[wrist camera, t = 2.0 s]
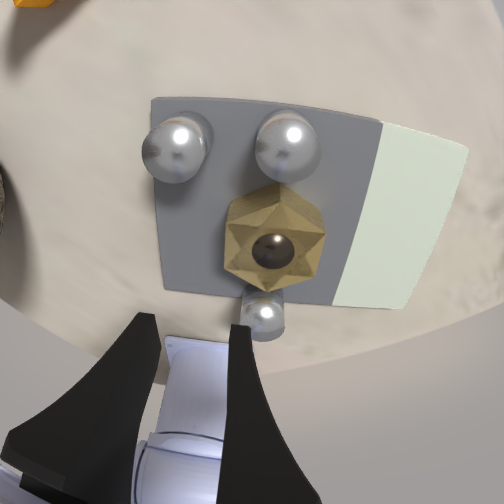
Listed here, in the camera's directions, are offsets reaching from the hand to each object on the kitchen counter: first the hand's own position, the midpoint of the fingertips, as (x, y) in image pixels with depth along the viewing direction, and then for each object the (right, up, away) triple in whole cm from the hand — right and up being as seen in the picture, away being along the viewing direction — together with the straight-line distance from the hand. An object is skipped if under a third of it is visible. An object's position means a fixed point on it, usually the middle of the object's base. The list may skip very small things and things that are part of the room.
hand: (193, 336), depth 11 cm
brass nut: (+3, +5, +7) cm, 9 cm away
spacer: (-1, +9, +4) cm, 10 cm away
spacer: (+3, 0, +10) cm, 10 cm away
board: (+6, +5, +7) cm, 11 cm away
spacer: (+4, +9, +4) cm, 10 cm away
